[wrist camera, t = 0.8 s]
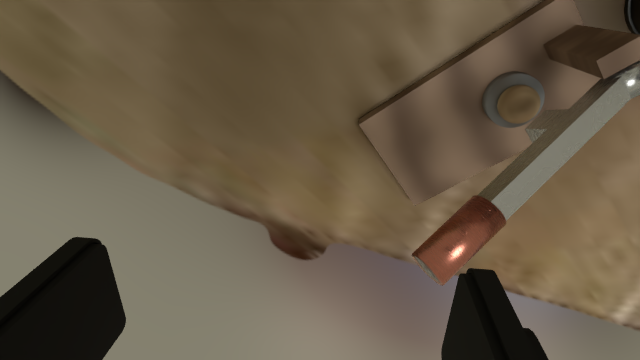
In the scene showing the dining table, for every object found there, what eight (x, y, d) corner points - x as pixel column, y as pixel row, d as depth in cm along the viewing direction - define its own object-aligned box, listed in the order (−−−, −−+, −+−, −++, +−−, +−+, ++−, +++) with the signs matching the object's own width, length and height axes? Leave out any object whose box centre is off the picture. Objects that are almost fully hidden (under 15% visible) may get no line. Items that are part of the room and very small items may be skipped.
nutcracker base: (559, -10, 35) (636, -9, 25) (603, 97, 38) (686, 133, 29) (359, 119, 42) (357, 158, 32) (412, 197, 46) (426, 253, 36)
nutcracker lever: (591, 60, 31) (649, 52, 27) (603, 89, 31) (660, 84, 28) (396, 242, 27) (429, 262, 23) (415, 268, 28) (450, 291, 24)
